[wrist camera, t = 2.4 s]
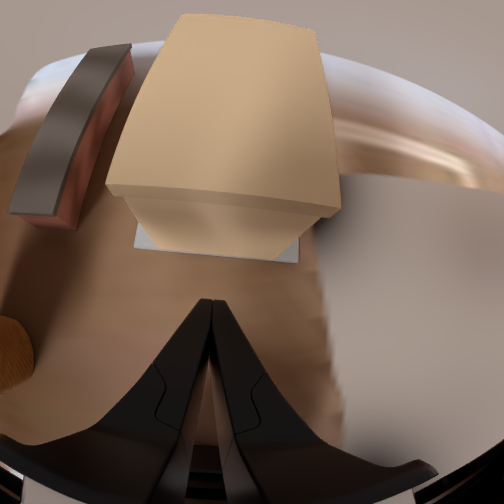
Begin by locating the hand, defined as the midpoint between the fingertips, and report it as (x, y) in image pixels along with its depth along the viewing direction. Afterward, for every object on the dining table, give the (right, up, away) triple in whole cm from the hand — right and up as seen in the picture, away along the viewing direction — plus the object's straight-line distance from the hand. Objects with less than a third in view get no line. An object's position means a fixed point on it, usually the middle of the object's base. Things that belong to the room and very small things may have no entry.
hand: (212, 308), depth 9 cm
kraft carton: (-1, +9, +13) cm, 16 cm away
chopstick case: (-16, +14, +13) cm, 24 cm away
